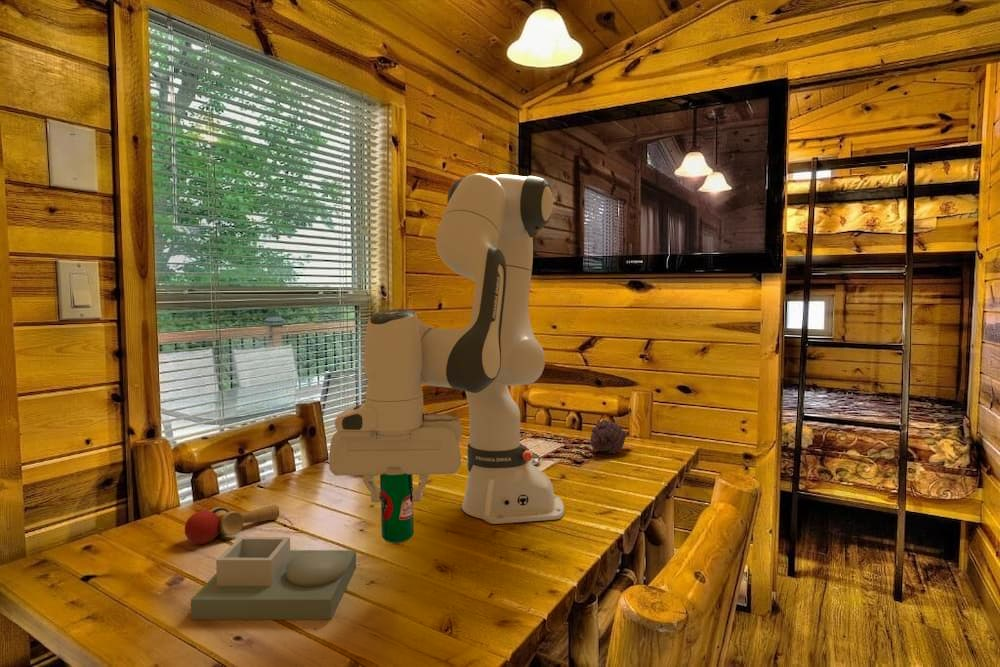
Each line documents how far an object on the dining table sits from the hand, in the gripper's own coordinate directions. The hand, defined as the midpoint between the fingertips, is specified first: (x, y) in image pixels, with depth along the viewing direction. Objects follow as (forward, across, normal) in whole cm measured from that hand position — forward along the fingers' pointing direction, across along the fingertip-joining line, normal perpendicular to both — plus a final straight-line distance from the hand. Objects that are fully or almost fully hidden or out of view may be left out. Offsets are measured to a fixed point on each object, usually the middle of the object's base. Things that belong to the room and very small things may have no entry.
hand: (397, 500), depth 91 cm
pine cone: (+17, -49, -79) cm, 95 cm away
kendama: (+15, +36, -22) cm, 45 cm away
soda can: (+6, 0, 0) cm, 6 cm away
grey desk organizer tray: (+14, +18, +1) cm, 23 cm away
